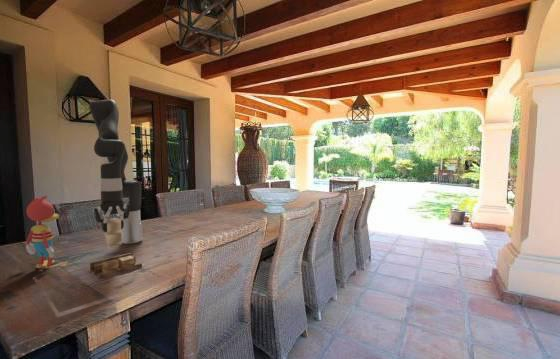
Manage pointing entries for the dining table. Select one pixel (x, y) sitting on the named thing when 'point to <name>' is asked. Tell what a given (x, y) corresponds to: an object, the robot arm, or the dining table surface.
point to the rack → (97, 270)
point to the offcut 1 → (109, 265)
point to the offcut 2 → (126, 261)
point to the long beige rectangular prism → (113, 233)
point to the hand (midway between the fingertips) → (113, 230)
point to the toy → (42, 232)
